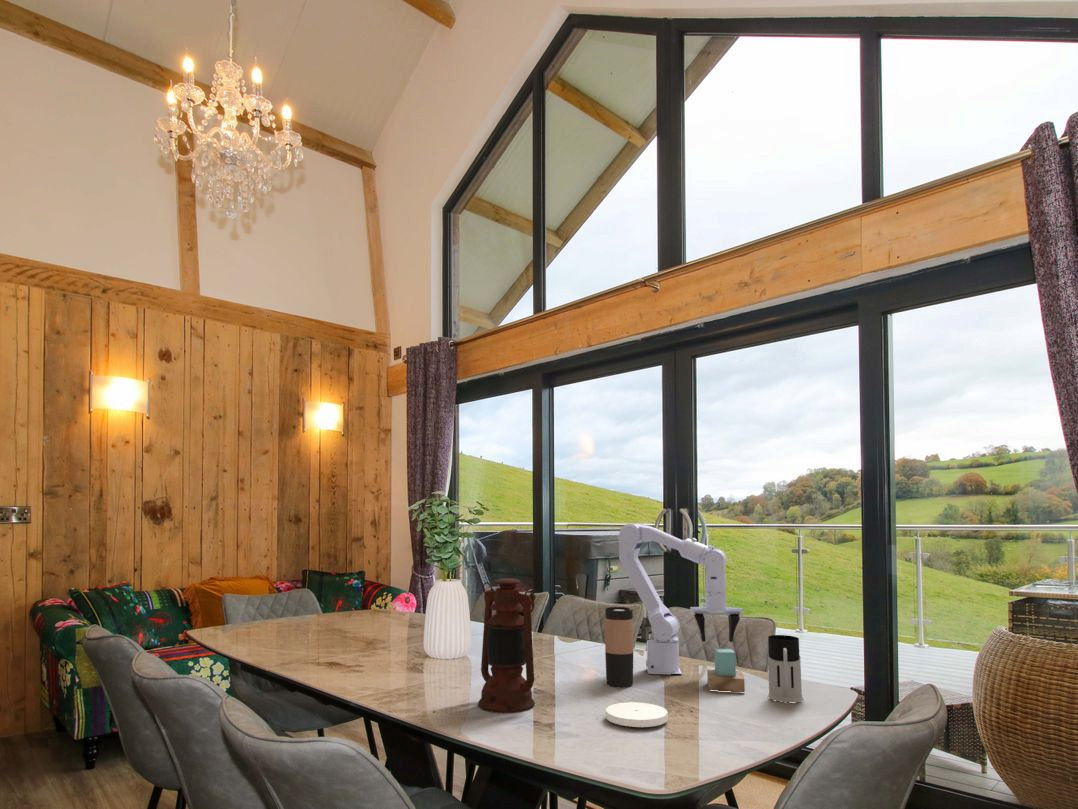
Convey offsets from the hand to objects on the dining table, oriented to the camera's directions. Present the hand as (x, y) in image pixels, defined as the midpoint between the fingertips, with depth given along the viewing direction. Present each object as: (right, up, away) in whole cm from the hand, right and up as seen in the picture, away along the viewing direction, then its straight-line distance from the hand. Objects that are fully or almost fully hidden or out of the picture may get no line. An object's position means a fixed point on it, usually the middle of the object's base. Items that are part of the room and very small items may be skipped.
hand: (717, 641), depth 211 cm
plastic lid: (-29, -5, -43) cm, 52 cm away
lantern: (-59, -6, -30) cm, 66 cm away
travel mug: (-29, -9, -10) cm, 32 cm away
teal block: (-1, -5, -13) cm, 13 cm away
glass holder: (+11, -7, -26) cm, 29 cm away
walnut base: (-1, -9, -13) cm, 16 cm away
